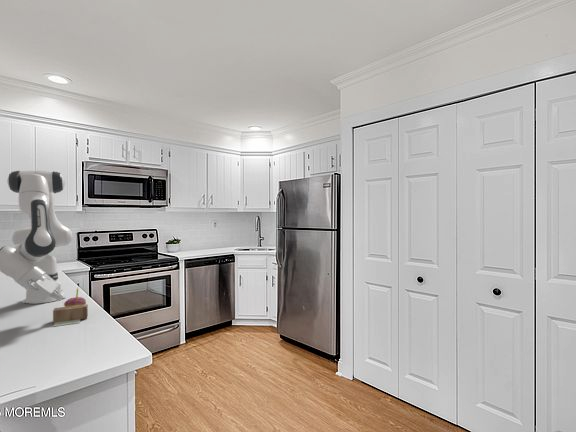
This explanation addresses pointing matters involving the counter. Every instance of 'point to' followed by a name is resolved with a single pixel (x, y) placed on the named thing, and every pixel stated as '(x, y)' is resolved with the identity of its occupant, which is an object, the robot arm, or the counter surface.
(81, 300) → the cupcake
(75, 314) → the block
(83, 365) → the counter surface
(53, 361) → the counter surface
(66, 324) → the mat
